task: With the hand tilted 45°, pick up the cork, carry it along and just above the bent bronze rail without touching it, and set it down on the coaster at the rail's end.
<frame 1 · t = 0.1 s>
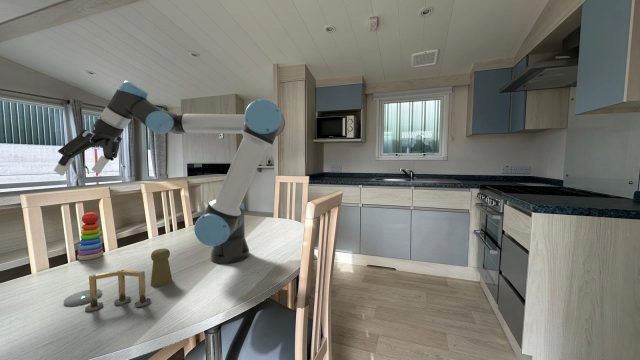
hand: (78, 172, 86), 36 cm above the table, tool tilted 35°, fingers open, 13 cm apart
cork: (161, 282, 81), on the table
stacking toy: (90, 257, 102), on the table
rail: (122, 301, 69), on the table
coaster: (83, 298, 71), on the table
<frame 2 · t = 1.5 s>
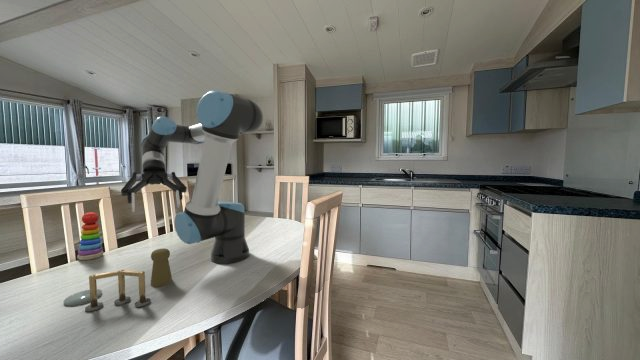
hand: (157, 207, 88), 23 cm above the table, tool tilted 45°, fingers open, 13 cm apart
nothing on the table moved.
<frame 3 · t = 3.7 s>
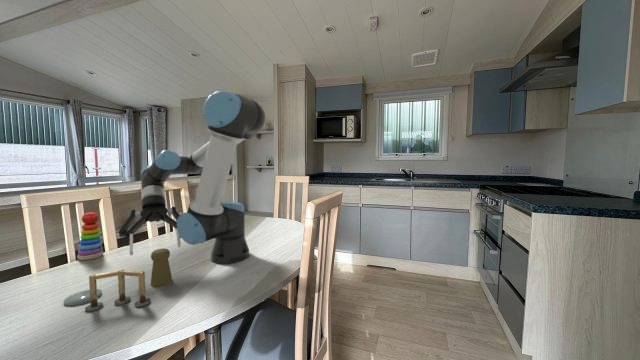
hand: (156, 249, 84), 10 cm above the table, tool tilted 45°, fingers open, 13 cm apart
nothing on the table moved.
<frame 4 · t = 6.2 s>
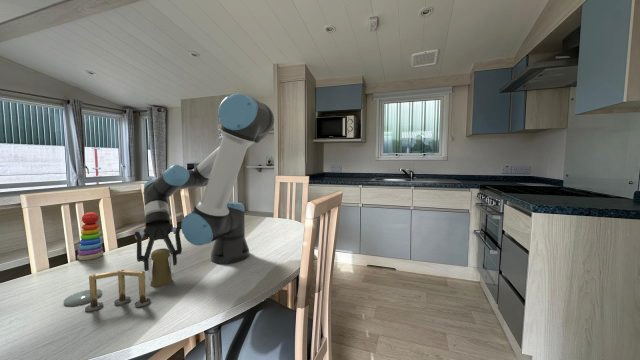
hand: (161, 276, 78), 3 cm above the table, tool tilted 45°, fingers closed on cork, 5 cm apart
cork: (161, 282, 81), on the table, touching gripper
everything else where it was.
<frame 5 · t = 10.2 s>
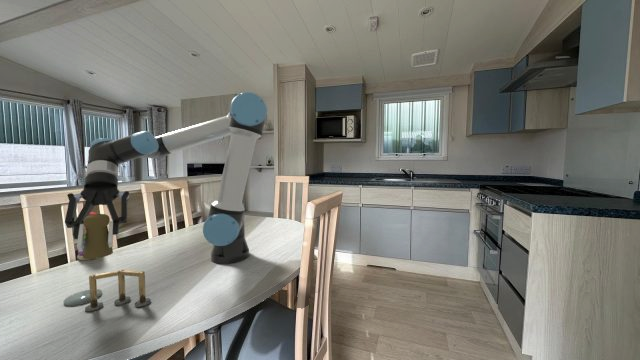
hand: (95, 246, 63), 18 cm above the table, tool tilted 45°, fingers closed on cork, 5 cm apart
cork: (98, 255, 66), point 14 cm above the table, touching gripper
everything else where it was.
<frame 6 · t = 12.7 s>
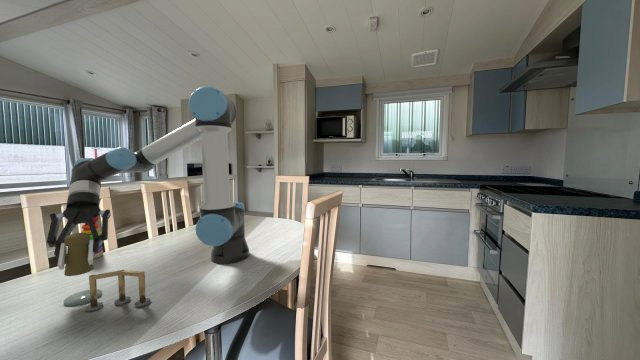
hand: (75, 264, 67), 11 cm above the table, tool tilted 45°, fingers closed on cork, 5 cm apart
cork: (79, 272, 71), point 8 cm above the table, touching gripper
everything else where it was.
when the fingers open (4 cm above the table, at t = 14.6 s): cork stays where it is, resting on coaster.
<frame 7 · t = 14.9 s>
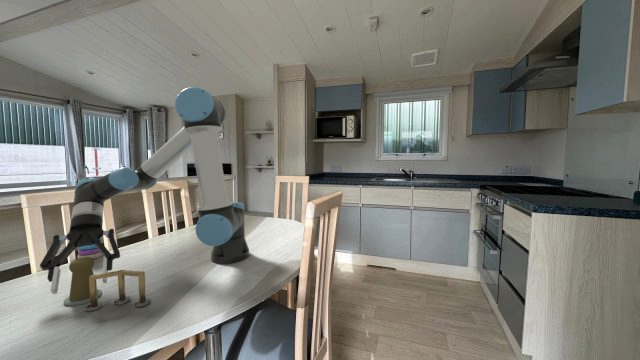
hand: (80, 286, 68), 5 cm above the table, tool tilted 45°, fingers open, 9 cm apart
cork: (84, 296, 71), resting on coaster
everything else where it was.
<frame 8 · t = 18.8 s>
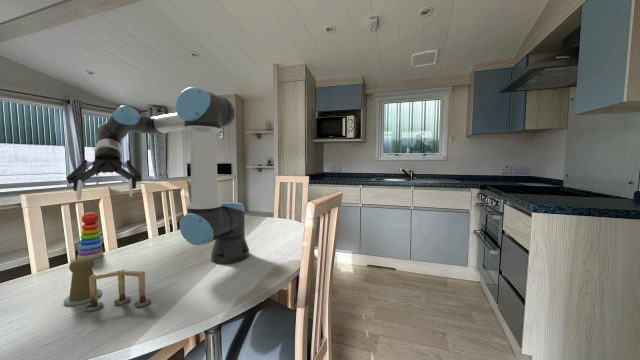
hand: (105, 196, 84), 28 cm above the table, tool tilted 45°, fingers open, 13 cm apart
nothing on the table moved.
at the end: cork 0.1 cm from the coaster (horizontally); cork tilted 0°; cork touching coaster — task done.
